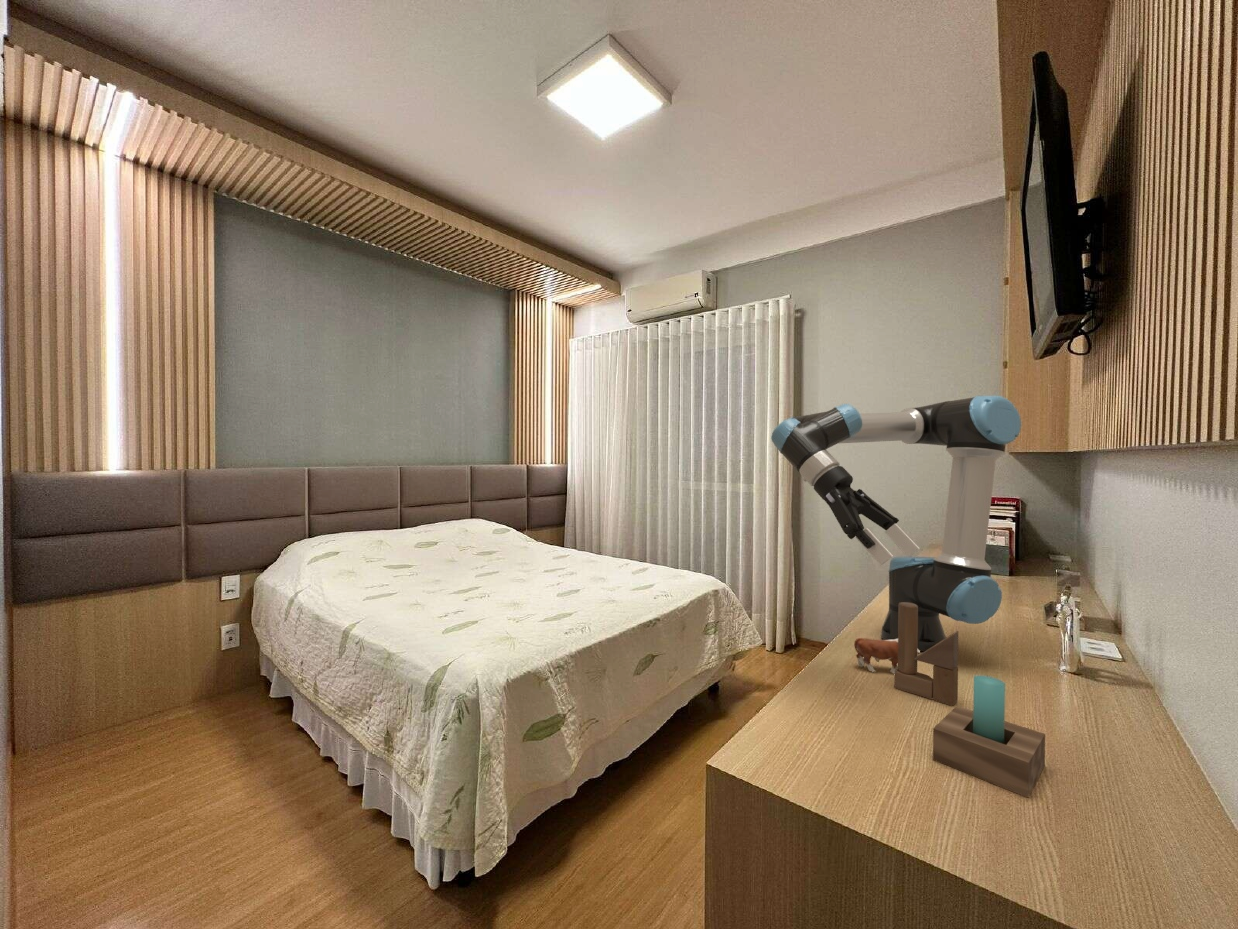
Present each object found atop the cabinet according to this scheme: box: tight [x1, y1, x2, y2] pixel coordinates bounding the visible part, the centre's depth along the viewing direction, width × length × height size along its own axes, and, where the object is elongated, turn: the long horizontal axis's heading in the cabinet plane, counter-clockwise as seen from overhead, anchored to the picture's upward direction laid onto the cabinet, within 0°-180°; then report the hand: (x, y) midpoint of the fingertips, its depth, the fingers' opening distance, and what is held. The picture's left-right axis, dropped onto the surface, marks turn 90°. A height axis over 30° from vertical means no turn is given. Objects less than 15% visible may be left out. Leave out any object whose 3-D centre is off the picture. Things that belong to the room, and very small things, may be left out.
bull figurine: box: [853, 637, 921, 675], centre depth 115 cm, size 4×13×8 cm, turn 71°
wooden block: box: [893, 602, 959, 707], centre depth 103 cm, size 4×11×18 cm, turn 43°
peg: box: [972, 674, 1006, 744], centre depth 79 cm, size 4×4×12 cm
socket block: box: [932, 705, 1046, 798], centre depth 79 cm, size 12×12×5 cm
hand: (901, 556), depth 96 cm, fingers open, 13 cm apart
